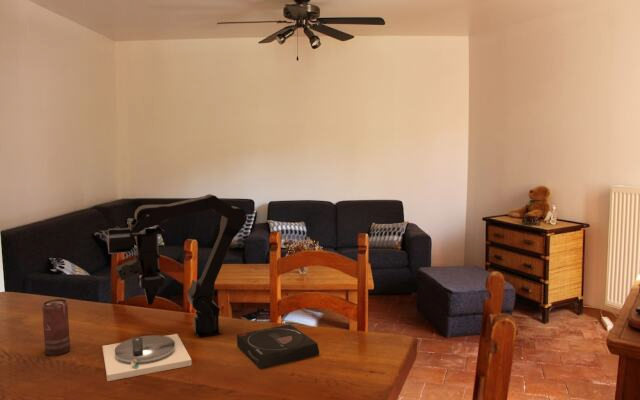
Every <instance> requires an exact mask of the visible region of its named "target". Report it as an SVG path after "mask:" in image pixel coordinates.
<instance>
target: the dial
mask: <svg viewBox="0 0 640 400" xmlns="http://www.w3.org/2000/svg"><path fill="white" fill-rule="evenodd" d="M166 336H167V335H158V334H156V335H155V334H154V335H153V334H152V335H143V336H135V337H133V338H129V339H127V340H125V341H122V342H119V343H120V344H119V345H118V346H117V347H116V348H115V358H116V359H117V360H118V361H121V362H124V363H131V365H135V364H139V363H148V362H153V361H157V360H160V359H163V358H165V357H167V356H169V355H170V354H172V353H173V352H174V350H175V342H174V340H173V339H171V338H169V337H166Z"/></svg>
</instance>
